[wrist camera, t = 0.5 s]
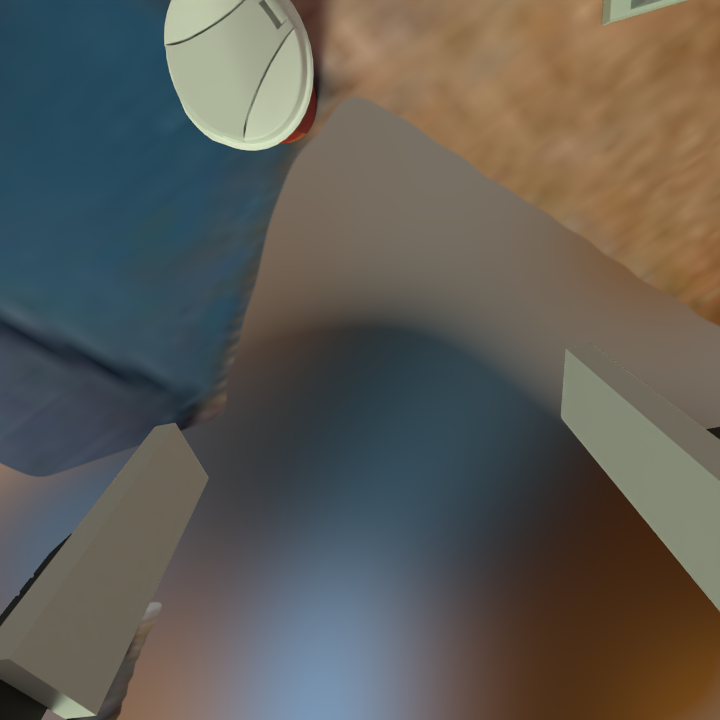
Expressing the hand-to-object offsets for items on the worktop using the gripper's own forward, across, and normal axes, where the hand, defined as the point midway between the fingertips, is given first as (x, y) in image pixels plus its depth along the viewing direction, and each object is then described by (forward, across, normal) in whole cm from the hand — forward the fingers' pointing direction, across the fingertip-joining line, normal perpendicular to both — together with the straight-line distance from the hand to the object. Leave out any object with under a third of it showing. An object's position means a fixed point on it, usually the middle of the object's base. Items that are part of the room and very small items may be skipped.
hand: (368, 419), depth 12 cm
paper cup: (+27, -4, +13) cm, 31 cm away
